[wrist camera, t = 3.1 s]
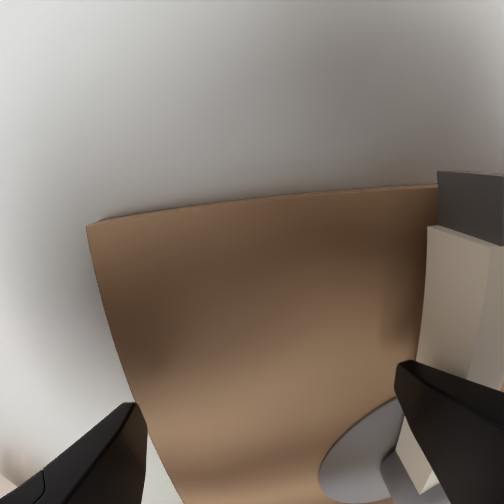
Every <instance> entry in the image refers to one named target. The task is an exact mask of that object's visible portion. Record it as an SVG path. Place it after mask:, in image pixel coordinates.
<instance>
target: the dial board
mask: <svg viewBox="0 0 504 504" xmlns="http://www.w3.org/2000/svg"><path fill="white" fill-rule="evenodd" d="M436 225H438V184H429V185H408V186H390V187H373V188H359V189H345V190H333V191H321V192H310V193H299V194H289V195H279V196H269V197H260V198H251V199H243V200H234V201H226V202H218V203H210V204H203V205H195V206H188V207H181V208H174V209H167V210H160V211H153V212H147V213H140V214H134V215H128V216H122V217H116V218H110V219H104V220H100V221H98V222H96V223H93V224H91V225H88V226H86V231H87V237H88V242H89V247H90V252H91V256H92V261H93V266H94V270H95V274H96V279H97V283H98V287H99V291H100V295H101V298H102V302H103V306H104V310H105V313H106V317H107V320H108V324H109V327H110V330H111V334H112V337H113V340H114V343H115V347H116V350H117V353H118V356H119V359H120V362H121V365H122V367H123V370H124V373H125V376H126V379H127V381H128V384H129V387H130V390H131V392H132V395H133V397H134V400H135V402H136V403H137V404H138V405H139V407H140V409H141V411H142V414H143V416H144V419H145V421H146V423H147V428H148V434H149V436H150V438H151V440H152V442H153V445H154V447H155V449H156V451H157V453H158V455H159V457H160V459H161V462H162V464H163V466H164V468H165V470H166V472H167V474H168V476H169V477H170V479H171V481H172V483H173V485H174V487H175V489H176V491H177V493H178V494H179V496H180V498H181V500H182V502H183V503H184V504H394V502H393V500H392V498H391V496H390V494H389V491H388V489H387V487H386V485H385V483H384V481H383V478H382V476H381V474H380V467H381V465H382V463H383V462H384V461H385V459H386V458H387V457H388V456H389V455H390V454H391V453H392V452H394V451H395V450H396V446H397V443H398V439H399V435H400V432H401V428H402V424H403V420H404V416H405V415H404V413H403V410H402V408H401V406H400V403H399V401H398V399H397V396H396V394H395V391H394V381H395V374H396V367H397V364H398V363H400V362H403V361H406V360H414V361H416V357H417V350H418V344H419V337H420V329H421V321H422V312H423V302H424V291H425V278H426V260H427V226H436ZM500 391H502V392H504V381H503V384H502V387H501V389H500Z"/></svg>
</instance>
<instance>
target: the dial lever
mask: <svg viewBox="0 0 504 504" xmlns="http://www.w3.org/2000/svg"><path fill="white" fill-rule="evenodd" d="M437 180H438V225H436V226H427V260H426V278H425V291H424V302H423V312H422V321H421V329H420V337H419V344H418V350H417V357H416V361H417V362H420V363H422V364H425V365H428V366H430V367H433V368H436V369H439V370H441V371H444V372H447V373H450V374H453V375H455V376H458V377H461V378H464V379H467V380H470V381H472V382H475V383H478V384H481V385H484V386H487V387H490V388H493V389H496V390H499V391H500V389H501V387H502V384H503V381H504V175H503V174H492V173H480V172H467V171H437ZM380 474H381V476H382V478H383V481H384V483H385V485H386V487H387V489H388V491H389V494H390V496H391V498H392V500H393V502H394V504H451V503H450V501H449V500H448V498H447V496H446V494H445V492H444V490H443V488H442V486H441V484H440V483H439V481H438V479H437V477H436V475H435V473H434V471H433V470H432V468H431V466H430V464H429V462H428V461H427V459H426V457H425V455H424V453H423V452H422V450H421V448H420V446H419V444H418V443H417V441H416V439H415V437H414V435H413V433H412V432H411V429H410V427H409V425H408V422H407V420H406V418H405V416H404V420H403V424H402V428H401V432H400V435H399V439H398V443H397V446H396V450H395V451H394V452H392V453H391V454H390V455H389V456H388V457H387V458H386V459H385V461H384V462H383V463H382V465H381V467H380Z"/></svg>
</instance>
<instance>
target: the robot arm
mask: <svg viewBox="0 0 504 504" xmlns="http://www.w3.org/2000/svg"><path fill="white" fill-rule="evenodd" d="M394 391H395V394H396V396H397V399H398V401H399V403H400V406H401V408H402V410H403V413H404V415H405V418H406V420H407V422H408V425H409V427H410V429H411V432H412V433H413V435H414V437H415V439H416V441H417V443H418V444H419V446H420V448H421V450H422V452H423V453H424V455H425V457H426V459H427V461H428V462H429V464H430V466H431V468H432V470H433V471H434V473H435V475H436V477H437V479H438V481H439V483H440V484H441V486H442V488H443V490H444V492H445V494H446V496H447V498H448V500H449V501H450V503H451V504H504V392H502V391H499V390H496V389H493V388H490V387H487V386H484V385H481V384H478V383H475V382H472V381H470V380H467V379H464V378H461V377H458V376H455V375H453V374H450V373H447V372H444V371H441V370H439V369H436V368H433V367H430V366H428V365H425V364H422V363H420V362H417V361H414V360H406V361H403V362H400V363H398V364H397V367H396V374H395V381H394ZM147 434H148V428H147V423H146V421H145V419H144V416H143V414H142V411H141V409H140V407H139V405H138V404H137V403H135V402H125V403H122V404H121V405H119V406H118V407H117V408H116V409H115V410H114V411H112V412H111V413H110V414H109V415H108V416H106V417H105V418H104V419H103V420H102V421H100V422H99V423H98V424H97V425H96V426H94V427H93V428H92V429H91V430H90V431H88V432H87V433H86V434H85V435H84V436H82V437H81V438H80V439H79V440H77V441H76V442H75V443H74V444H73V445H71V446H70V447H69V448H68V449H66V450H65V451H64V452H63V453H62V454H60V455H59V456H58V457H57V458H55V459H54V460H53V461H52V462H50V463H49V464H48V465H47V466H45V467H44V468H43V470H40V471H39V472H38V473H36V474H35V475H34V476H33V477H31V478H30V479H29V480H27V481H26V482H25V483H23V484H22V485H21V486H19V487H18V488H16V489H15V490H13V491H11V492H10V493H8V494H7V495H5V496H3V497H2V498H1V499H0V504H141V501H142V494H143V488H144V482H145V474H146V452H147Z"/></svg>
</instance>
